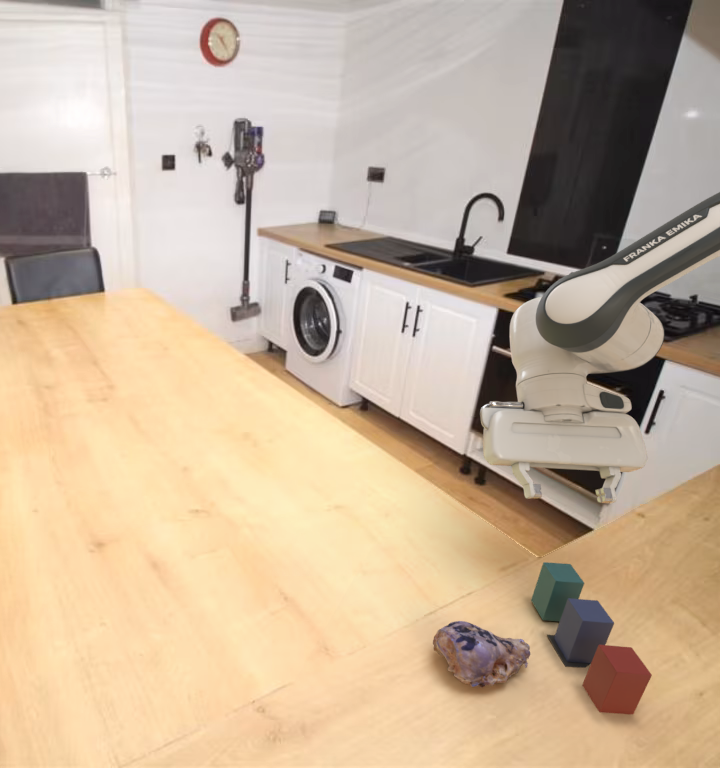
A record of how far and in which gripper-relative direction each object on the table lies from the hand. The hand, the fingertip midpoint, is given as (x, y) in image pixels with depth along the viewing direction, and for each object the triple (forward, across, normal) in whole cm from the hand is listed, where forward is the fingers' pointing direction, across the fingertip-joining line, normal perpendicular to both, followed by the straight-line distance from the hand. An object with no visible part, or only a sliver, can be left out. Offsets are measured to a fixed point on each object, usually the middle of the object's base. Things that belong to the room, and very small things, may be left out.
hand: (570, 500), depth 73 cm
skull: (+21, -14, +1) cm, 25 cm away
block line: (+19, -1, +4) cm, 19 cm away
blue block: (+19, -1, +3) cm, 19 cm away
